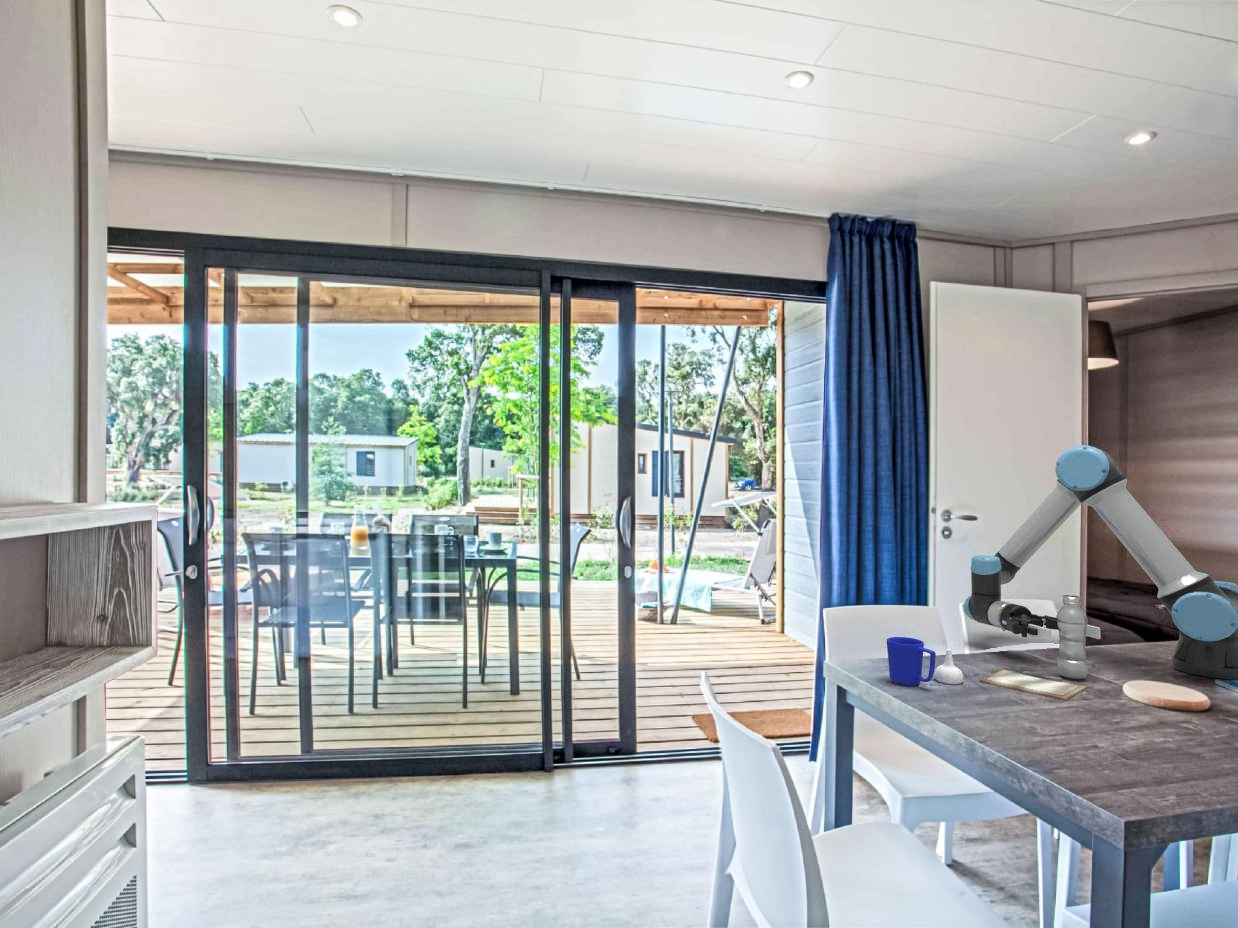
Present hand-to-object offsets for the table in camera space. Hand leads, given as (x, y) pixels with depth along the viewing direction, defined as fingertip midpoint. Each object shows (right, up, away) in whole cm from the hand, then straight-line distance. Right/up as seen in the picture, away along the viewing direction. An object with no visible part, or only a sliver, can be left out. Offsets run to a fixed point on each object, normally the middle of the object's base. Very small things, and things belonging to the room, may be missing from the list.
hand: (1074, 634), depth 165 cm
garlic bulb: (-32, -11, -2) cm, 33 cm away
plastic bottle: (0, -11, +1) cm, 11 cm away
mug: (-42, -11, -5) cm, 43 cm away
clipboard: (-13, -11, -5) cm, 18 cm away
